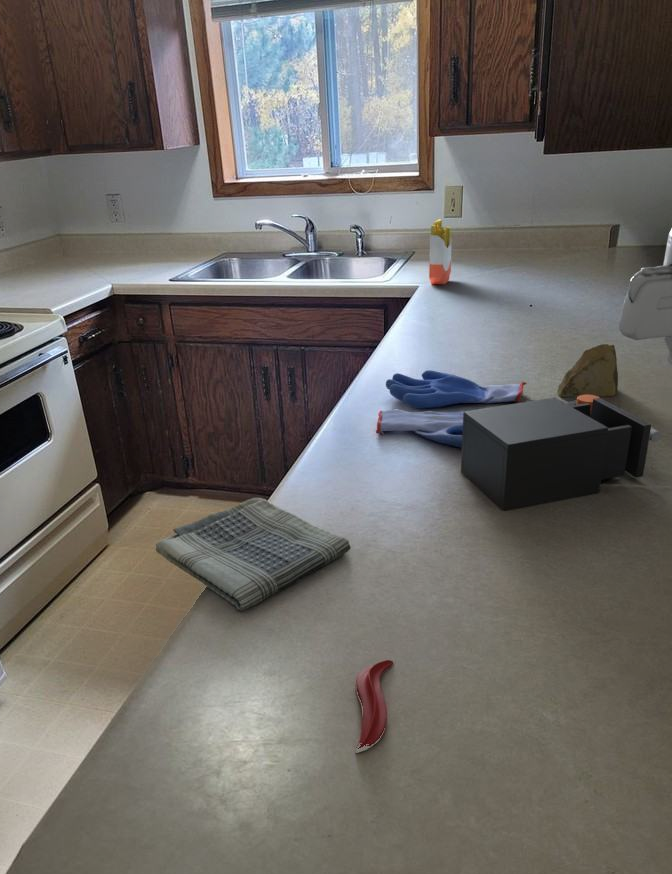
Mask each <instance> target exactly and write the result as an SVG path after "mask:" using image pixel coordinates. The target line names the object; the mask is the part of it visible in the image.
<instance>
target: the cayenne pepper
mask: <svg viewBox="0 0 672 874" xmlns="http://www.w3.org/2000/svg"><path fill="white" fill-rule="evenodd" d="M393 662H394V661H393V660H391V659H386V660H382V661H380V662H377V663H375V664H373V665H370V666H368V667H366V668H365V669H363V670H362V671H361V672H360V673H358V675H357V676H356V680H355V682H356V684H357V692H358V696H359V698H360V700H361V703H362V706H363V723H362V722H361V730H362V732H361V731H360V738H359V742H358V744H359V743H362V744H360V745H361V746H360V747H359V748H361V747H363V746H364V745H365V746H366V744H369V745H367V746H371V745H372V744H374V743H375V742H376V741H377V740H378V739H379V738H380V736H381V735H382V733H383V731H384V728H385V725H386V720H387V721H388V711H387V704H386V701H385V696H384V694H383V691H382V687H381V679H382V676H383V675H382V673H383V672H384V671H385V670H386V669H387V668H388V669H390V668H391V667H392V666H393V665H394V663H393ZM392 664H393V665H392ZM391 665H392V666H391ZM390 666H391V667H390ZM388 669H387V670H388ZM387 670H386V671H387ZM386 671H385V672H386ZM385 672H384V673H385ZM384 673H383V674H384ZM381 675H382V676H381ZM380 678H381V679H380ZM356 684H355V685H356ZM386 726H387V725H386ZM359 748H358V749H359Z"/></svg>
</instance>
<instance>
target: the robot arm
mask: <svg viewBox="0 0 672 874" xmlns="http://www.w3.org/2000/svg"><path fill="white" fill-rule="evenodd" d="M627 289H628V290H627V292H626V294H625V297H624V301H623V304H622V308H621V312H620V316H619V321H618V331H619V332H620V335H622V336H624V337H626V338H629V339H631V340H634V341H642V340H649V339H657V338H664V341H665V343H666V346H667V349H668V351H669V354H668V358H667V362H668V364H670V365H672V227H671V228H670V231H669V233H668V236H667V242H666V247H665V253H664V258H663V265H657V266H645V267H642V268H640V270H639V271H638V272H636V273H634V275H633V276H632V277H631V278H630V280H629V283H628V288H627Z"/></svg>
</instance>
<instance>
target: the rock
mask: <svg viewBox="0 0 672 874" xmlns="http://www.w3.org/2000/svg"><path fill="white" fill-rule="evenodd" d="M618 387H619V371H618V364H617V352H616V346H615V344H608V343H607V344H605V343H603V344H599V345H596V346H593V347H592V348H588V349H586V350H584V351H583V353H582V355H581V356H580V357H579V359H578V360H577V361H576V362H575V364H574V365H572V367H571V368H570V369H569V370H567V371H566V372H565V374H564V377H563V378H562V380H561V381H560V383H559V385H558V387H557V388H558V389H557V390H556V393H557V394H558V396H559V397H561V398H577V397H578V396H580V395H595V396H598V397H600V398H601V397H614V396H615V395H617V394H618Z"/></svg>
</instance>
